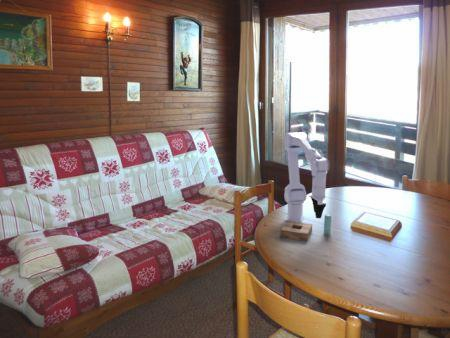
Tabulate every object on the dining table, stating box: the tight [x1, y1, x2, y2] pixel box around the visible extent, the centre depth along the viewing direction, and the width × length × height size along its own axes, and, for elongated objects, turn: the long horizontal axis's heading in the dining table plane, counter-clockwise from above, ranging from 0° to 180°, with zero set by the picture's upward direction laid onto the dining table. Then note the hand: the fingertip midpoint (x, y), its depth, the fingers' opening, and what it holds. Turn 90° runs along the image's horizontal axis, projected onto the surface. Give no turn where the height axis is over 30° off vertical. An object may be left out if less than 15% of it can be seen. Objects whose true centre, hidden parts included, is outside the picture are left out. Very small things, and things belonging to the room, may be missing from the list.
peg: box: [323, 214, 332, 237], centre depth 178 cm, size 3×3×9 cm
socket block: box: [280, 221, 313, 242], centre depth 179 cm, size 12×12×4 cm
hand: (317, 215), depth 175 cm, fingers open, 7 cm apart
